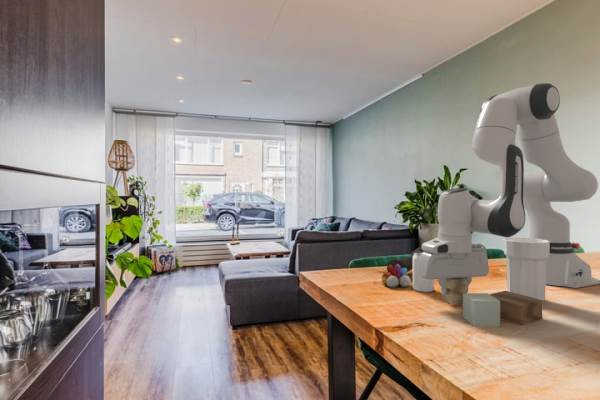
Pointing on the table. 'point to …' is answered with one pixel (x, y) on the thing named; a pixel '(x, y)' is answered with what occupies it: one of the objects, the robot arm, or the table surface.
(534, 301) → the walnut block
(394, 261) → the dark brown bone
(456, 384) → the table surface
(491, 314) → the sage block
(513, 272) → the cup
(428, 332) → the table surface
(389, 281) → the colorful ball cluster
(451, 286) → the oak block
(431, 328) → the table surface
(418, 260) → the can
